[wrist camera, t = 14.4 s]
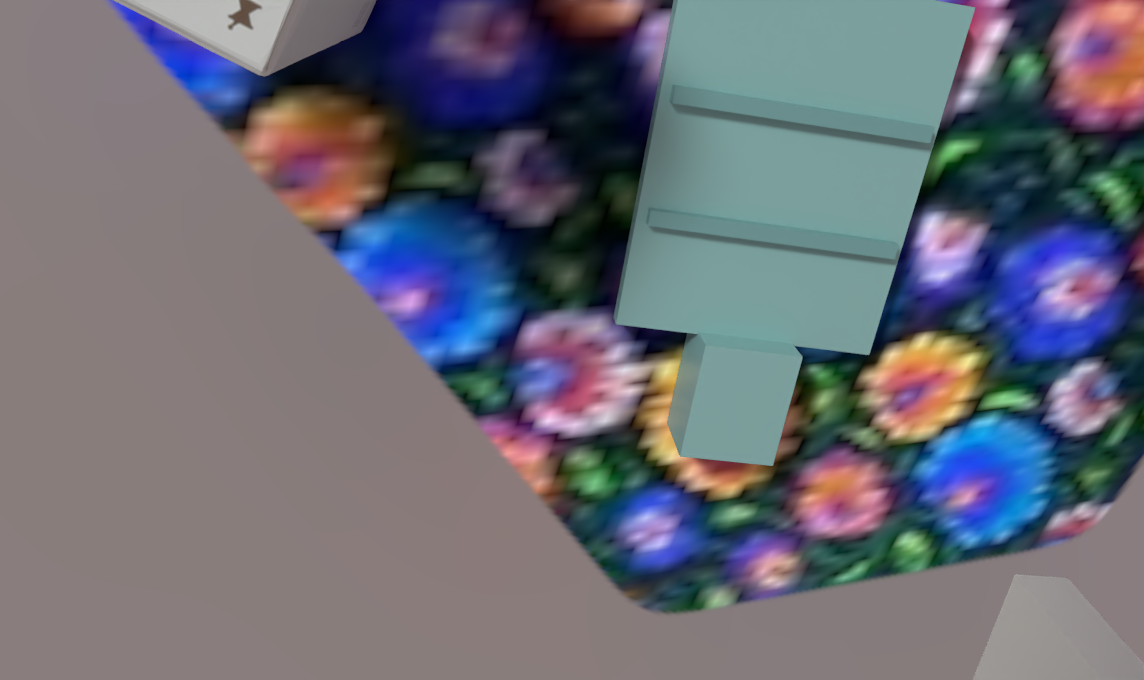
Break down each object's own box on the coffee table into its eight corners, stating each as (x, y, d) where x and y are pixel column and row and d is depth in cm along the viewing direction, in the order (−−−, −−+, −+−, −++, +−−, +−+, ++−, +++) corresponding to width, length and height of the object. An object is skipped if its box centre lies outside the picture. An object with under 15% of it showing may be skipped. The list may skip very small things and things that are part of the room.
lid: (676, -45, 33) (695, -45, 30) (952, 5, 35) (994, 9, 32) (591, 412, 40) (599, 448, 37) (824, 437, 42) (849, 473, 39)
